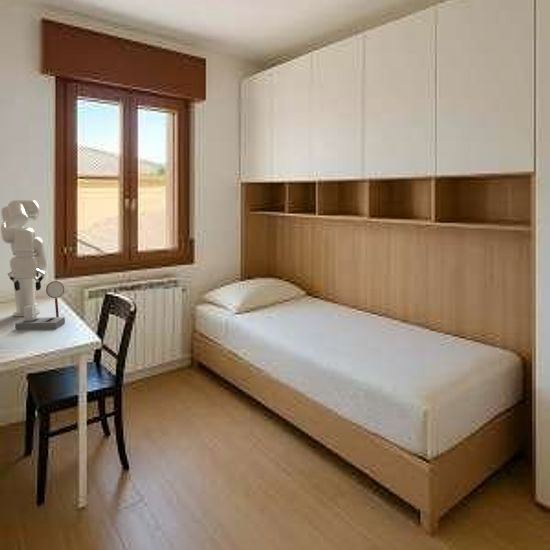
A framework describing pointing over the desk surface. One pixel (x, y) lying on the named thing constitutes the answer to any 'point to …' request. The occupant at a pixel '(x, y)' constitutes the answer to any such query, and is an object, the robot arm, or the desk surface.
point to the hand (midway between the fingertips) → (28, 290)
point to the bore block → (41, 323)
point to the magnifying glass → (55, 292)
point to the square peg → (30, 313)
